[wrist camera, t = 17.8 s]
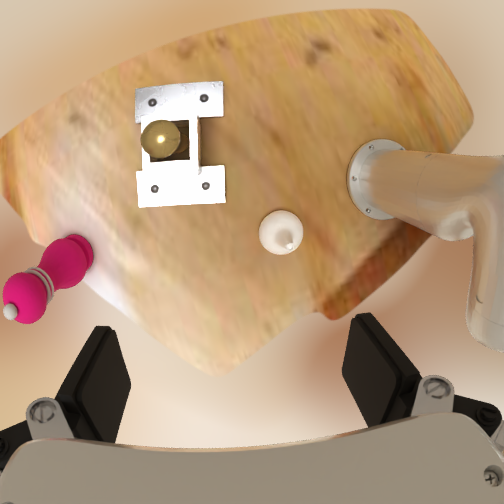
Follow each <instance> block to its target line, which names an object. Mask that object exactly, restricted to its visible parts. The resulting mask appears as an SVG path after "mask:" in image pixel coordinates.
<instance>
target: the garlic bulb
mask: <svg viewBox="0 0 504 504" xmlns="http://www.w3.org/2000/svg"><path fill="white" fill-rule="evenodd" d="M302 238H303V227H302V224H301V222H300V220H299V219H298V218H297V216H296V215H294V214H293V213H291V212H288V211H284V210H279V211H275V212H272V213H270V214H269V215H267V216H266V217H265V218H264V219H263V221H262V222H261V225H260V228H259V239H260V242H261V244H262V245H263V247H264V248H265V249H266V250H268V251H269V252H271V253H274V254H278V255H283V254H288V253H290V252H292V251H294V250H295V249H296V248H297V247H298V246H299V245H300V243H301V241H302Z"/></svg>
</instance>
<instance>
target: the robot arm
mask: <svg viewBox="0 0 504 504" xmlns="http://www.w3.org/2000/svg"><path fill="white" fill-rule="evenodd" d="M369 146H370V149H369ZM352 176H353V179H351V178H352ZM347 187H348V191H349V195H350V197H351V199H352V201H353V203H354V204H355V206H356V207H357V208H358V209H359V210H360V211H361V212H362V213H363V214H365V215H367V216H369V217H371V218H373V219H377V220H388V219H392V218H394V217H396V218H398V219H400V220H402V221H405V222H407V223H409V224H411V225H413V226H415V227H418V228H420V229H422V230H424V231H426V232H428V233H430V234H432V235H434V236H436V237H439V238H441V239H444V240H448V241H460V240H464V239H467V238H469V237H471V236H473V235H474V245H473V261H472V270H471V277H470V284H469V291H468V298H467V306H466V323H467V327H468V330H469V332H470V333H471V335H472V336H473V337H474V338H475V339H476V340H477V341H478V342H479V343H481V344H482V345H484V346H486V347H488V348H490V349H493V350H496V351H500V352H504V156H465V155H456V154H445V153H435V152H423V151H409V150H406V149H405V148H404V147H402V146H401V145H400V144H398V143H396V142H394V141H392V140H388V139H376V140H372V141H369V142H367V143H365V144H364V145H362V146H361V147H360V148H359V149H358V150H357V151H356V152H355V154H354V155H353V157H352V159H351V161H350V163H349V167H348V171H347ZM366 209H367V211H366ZM342 375H343V378H344V379H345V382H346V383H347V386H348V388H349V390H350V392H351V394H352V395H353V397H354V399H355V401H356V403H357V405H358V407H359V409H360V412H361V413H362V416H363V417H364V420H365V421H366V424H367V426H368V428H364V429H360V430H355V431H351V432H347V433H342V434H337V435H333V436H328V437H322V438H316V439H310V440H303V441H297V442H289V443H282V444H273V445H263V446H251V447H236V448H208V449H207V448H204V449H203V448H201V449H200V448H195V449H194V448H191V449H190V448H162V447H147V446H136V445H125V444H115V441H116V437H117V433H118V430H119V426H120V423H121V419H122V415H123V412H124V409H125V405H126V402H127V399H128V395H129V392H130V389H131V381H130V378H129V375H128V371H127V369H126V365H125V362H124V359H123V356H122V352H121V349H120V346H119V342H118V338H117V335H116V332H115V330H112V329H111V328H110V327H109V326H96V327H95V328H94V330H93V331H92V333H91V335H90V336H89V338H88V340H87V341H86V343H85V345H84V346H83V348H82V350H81V351H80V353H79V355H78V357H77V358H76V360H75V362H74V364H73V365H72V367H71V369H70V371H69V373H68V374H67V376H66V378H65V380H64V382H63V383H62V385H61V387H60V389H59V391H58V393H57V395H56V397H55V399H52V398H49V397H48V398H47V397H43V398H39V399H37V400H35V401H33V402H32V403H31V404H30V405H29V406H28V408H27V411H26V419H27V420H25V421H23V422H21V423H18V424H16V425H14V426H11V427H9V428H7V429H4V430H2V431H0V504H504V420H502V415H501V413H500V411H499V410H498V408H497V407H495V406H494V405H492V404H489V403H485V402H481V401H478V400H474V399H470V398H466V397H462V396H459V395H455V394H454V387H453V385H452V383H451V382H450V381H449V380H448V379H446V378H444V377H441V376H437V375H429V376H426V377H424V378H422V377H421V375H420V372H419V371H418V370H417V368H416V367H415V366H414V365H413V363H412V362H411V361H410V360H409V358H408V357H407V356H406V355H405V353H404V352H403V351H402V350H401V349H400V347H399V346H398V345H397V344H396V342H395V341H394V340H393V339H392V338H391V337H390V335H389V334H388V333H387V332H386V330H385V329H384V328H383V327H382V326H381V324H380V323H379V322H378V321H377V320H376V318H375V317H374V316H373V315H372V314H371V313H362V314H357V315H356V316H355V318H352V320H351V325H350V330H349V336H348V341H347V347H346V351H345V357H344V362H343V367H342Z"/></svg>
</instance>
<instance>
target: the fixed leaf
mask: <svg viewBox="0 0 504 504" xmlns="http://www.w3.org/2000/svg"><path fill="white" fill-rule="evenodd" d="M184 112H197V113H198V114H199V118H209V117H223V81H215V82H196V83H182V84H171V85H161V86H153V87H145V88H138V89H135V123H137V124H138V123H142V117H143V116H152V115H161V114H171V113H184ZM175 125H176V127H187V126H190V123H181V124H175ZM200 159H202V148H201V125H200ZM184 160H190V159H184ZM163 161H164V158H157V162H163ZM169 161H176V160H169Z"/></svg>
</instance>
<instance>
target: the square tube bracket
mask: <svg viewBox="0 0 504 504" xmlns="http://www.w3.org/2000/svg"><path fill="white" fill-rule="evenodd" d="M158 119H165V120H168V121H170V122H172V123H173V124H181V123H190V160H176V161H163V162H157V158H155V157H151V156H149V155H148V154H147V153H146V152H145V151H144V150H143V148H142V159H143V171H137V187H138V200H139V207H151V206H167V205H184V204H203V203H225V182H224V165H223V166H200V118H199V114H198V113H197V112H184V113H171V114H161V115H152V116H143V117H142V132H143V130H144V128H145V127H146V126H147V125H148V124H149V123H150V122H152V121H154V120H158Z"/></svg>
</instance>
